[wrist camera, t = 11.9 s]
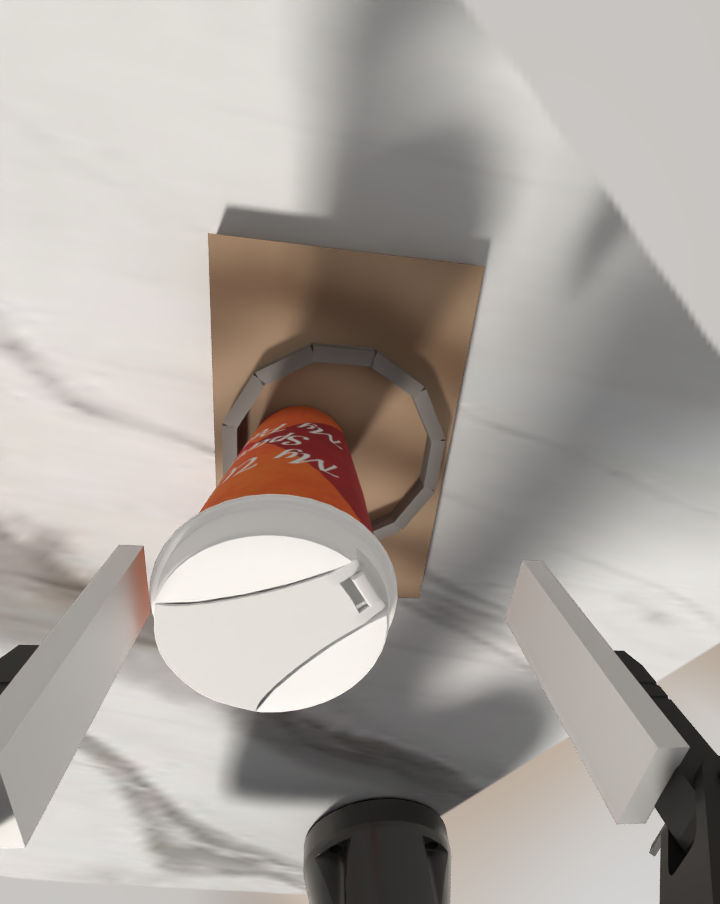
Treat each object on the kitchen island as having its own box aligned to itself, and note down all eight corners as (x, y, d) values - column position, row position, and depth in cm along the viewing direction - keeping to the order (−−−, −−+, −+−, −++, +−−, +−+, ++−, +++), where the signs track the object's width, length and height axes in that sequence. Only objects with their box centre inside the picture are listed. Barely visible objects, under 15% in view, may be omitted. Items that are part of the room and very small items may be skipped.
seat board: (414, 584, 31) (422, 610, 29) (224, 578, 30) (215, 605, 27) (475, 266, 23) (493, 265, 21) (215, 236, 22) (201, 230, 19)
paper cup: (326, 363, 23) (326, 470, 10) (385, 473, 26) (443, 666, 13) (206, 425, 24) (64, 598, 11) (276, 525, 27) (228, 755, 14)
